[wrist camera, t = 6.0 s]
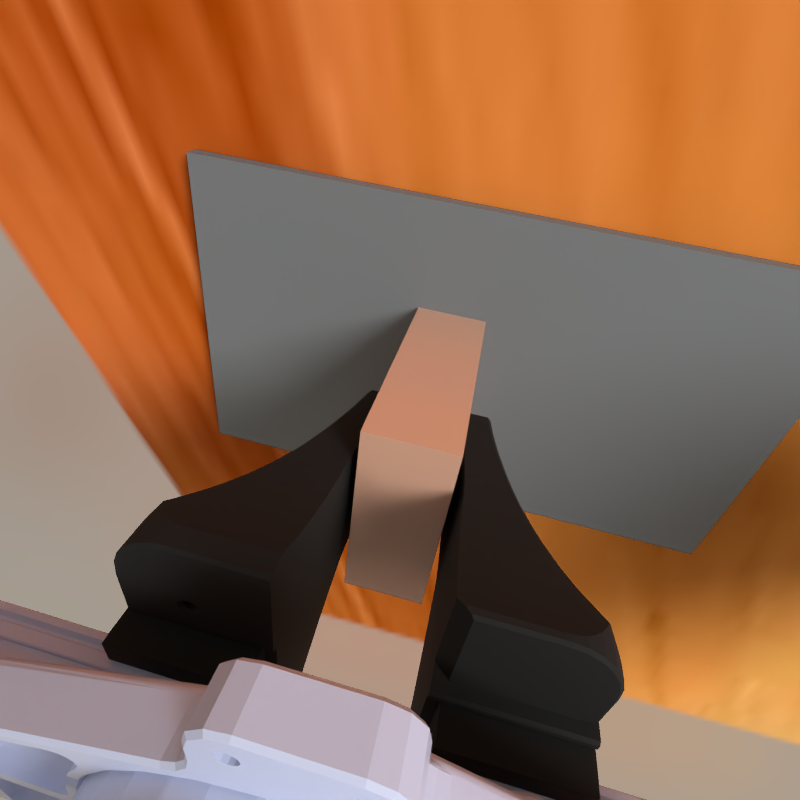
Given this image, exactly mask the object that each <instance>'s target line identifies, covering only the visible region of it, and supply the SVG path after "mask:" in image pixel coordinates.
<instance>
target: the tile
mask: <svg viewBox="0 0 800 800" xmlns="http://www.w3.org/2000/svg"><path fill="white" fill-rule="evenodd" d="M485 325H486V322H484V321H480V320H475V319H470V318H466V317H461V316H457V315H452V314H447V313H443V312H438V311H434V310H429V309H424V308H420V307H418V310H417V312H416V314H415V316H414V318H413V320H412V322H411V324H410V327H409V329H408V331H407V333H406V335H405V337H404V339H403V341H402V344H401V346H400V348H399V350H398V352H397V354H396V356H395V359H394V361H393V363H392V365H391V367H390V369H389V371H388V373H387V376H386V378H385V380H384V382H383V384H382V386H381V388H380V391H379V393H378V395H377V397H376V399H375V401H374V403H373V405H372V408H371V410H370V412H369V414H368V416H367V418H366V420H365V423H364V425H363V427H362V429H361V431H360V441H359V450H358V460H357V469H356V479H355V488H354V497H353V507H352V516H351V526H350V535H349V544H348V554H347V563H346V573H345V583H349V584H352V585H356V586H359V587H363V588H366V589H370V590H373V591H377V592H381V593H384V594H388V595H391V596H395V597H398V598H402V599H405V600H409V601H412V602H416V603H420V604H422V601H423V597H424V593H425V590H426V586H427V583H428V579H429V576H430V572H431V569H432V565H433V562H434V558H435V554H436V551H437V547H438V544H439V540H440V537H441V533H442V530H443V526H444V522H445V519H446V515H447V512H448V508H449V505H450V501H451V498H452V494H453V491H454V487H455V483H456V480H457V476H458V473H459V469H460V466H461V462H462V459H463V454H464V448H465V442H466V437H467V431H468V425H469V419H470V413H471V407H472V401H473V395H474V389H475V383H476V378H477V372H478V366H479V360H480V354H481V348H482V342H483V336H484V330H485Z"/></svg>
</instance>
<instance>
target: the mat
mask: <svg viewBox="0 0 800 800" xmlns="http://www.w3.org/2000/svg"><path fill="white" fill-rule="evenodd" d="M187 161H188V169H189V178H190V186H191V195H192V203H193V212H194V220H195V229H196V237H197V246H198V254H199V263H200V271H201V279H202V288H203V296H204V305H205V313H206V322H207V330H208V339H209V347H210V356H211V364H212V373H213V381H214V390H215V398H216V407H217V415H218V423H219V432H220V433H222V434H226V435H229V436H233V437H237V438H241V439H245V440H249V441H253V442H257V443H261V444H264V445H268V446H272V447H276V448H280V449H284V450H288V451H293V450H295V449H297V448H298V447H300V446H301V445H303V444H305V443H306V442H308V441H309V440H310V439H312V438H313V437H315V436H316V435H318V434H319V433H320V432H322V431H323V430H325V429H326V428H327V427H329V426H330V425H331V424H332V423H334V422H335V421H336V420H337V419H339V418H340V417H341V416H342V415H344V414H345V413H346V412H347V411H348V410H350V409H351V408H352V407H353V406H354V405H355V404H356V403H357V402H359V401H360V400H361V399H362V398H363V397H364V396H365V395H366V394H367V393H368V392H370V391H372V390H374V391H380V388H381V386H382V384H383V382H384V380H385V378H386V376H387V373H388V371H389V369H390V367H391V365H392V363H393V361H394V359H395V356H396V354H397V352H398V350H399V348H400V346H401V344H402V341H403V339H404V337H405V335H406V333H407V331H408V329H409V327H410V324H411V322H412V320H413V318H414V316H415V314H416V312H417V310H418V307H420V308H424V309H429V310H434V311H438V312H443V313H447V314H452V315H457V316H461V317H466V318H470V319H475V320H480V321H484V322H486V325H485V330H484V336H483V342H482V348H481V354H480V360H479V366H478V372H477V378H476V383H475V389H474V395H473V401H472V407H471V414H475V415H480V416H484V417H488V418H489V420H490V421H491V426H492V431H493V435H494V439H495V443H496V446H497V450H498V453H499V456H500V459H501V461H502V464H503V467H504V469H505V472H506V475H507V477H508V480H509V482H510V484H511V487H512V489H513V491H514V493H515V495H516V498H517V500H518V502H519V504H520V506H521V508H522V509H523V511H525V512H529V513H533V514H537V515H541V516H545V517H549V518H552V519H556V520H560V521H564V522H568V523H572V524H576V525H580V526H584V527H587V528H591V529H595V530H599V531H603V532H607V533H611V534H615V535H619V536H622V537H626V538H630V539H634V540H638V541H642V542H646V543H650V544H654V545H658V546H661V547H665V548H669V549H673V550H677V551H681V552H685V553H689V554H691V553H692V552H693V551H694V550H695V548H696V547H697V546H698V545H699V543H700V542H701V541H702V540H703V538H704V537H705V536H706V535H707V533H708V532H709V531H710V530H711V528H712V527H713V526H714V524H715V523H716V522H717V521H718V519H719V518H720V517H721V516H722V514H723V513H724V512H725V511H726V509H727V508H728V507H729V506H730V504H731V503H732V502H733V501H734V499H735V498H736V497H737V495H738V494H739V493H740V492H741V490H742V489H743V488H744V487H745V485H746V484H747V483H748V482H749V480H750V479H751V478H752V477H753V475H754V474H755V473H756V472H757V470H758V469H759V468H760V466H761V465H762V464H763V463H764V461H765V460H766V459H767V458H768V456H769V455H770V454H771V453H772V451H773V450H774V449H775V448H776V446H777V445H778V444H779V443H780V441H781V440H782V439H783V437H784V436H785V435H786V434H787V432H788V431H789V430H790V429H791V427H792V426H793V425H794V424H795V422H796V421H797V420H798V419H799V417H800V266H798V265H793V264H788V263H782V262H777V261H772V260H767V259H762V258H757V257H751V256H746V255H741V254H736V253H731V252H725V251H720V250H715V249H710V248H705V247H699V246H694V245H689V244H684V243H679V242H674V241H668V240H663V239H658V238H653V237H648V236H642V235H637V234H632V233H627V232H622V231H617V230H611V229H606V228H601V227H596V226H591V225H585V224H580V223H575V222H570V221H565V220H559V219H554V218H549V217H544V216H539V215H534V214H528V213H523V212H518V211H513V210H508V209H502V208H497V207H492V206H487V205H482V204H477V203H471V202H466V201H461V200H456V199H451V198H445V197H440V196H435V195H430V194H425V193H419V192H414V191H409V190H404V189H399V188H394V187H388V186H383V185H378V184H373V183H368V182H362V181H357V180H352V179H347V178H342V177H337V176H331V175H326V174H321V173H316V172H311V171H305V170H300V169H295V168H290V167H285V166H280V165H274V164H269V163H264V162H259V161H254V160H248V159H243V158H238V157H233V156H228V155H222V154H217V153H212V152H207V151H202V150H193V151H188V152H187Z"/></svg>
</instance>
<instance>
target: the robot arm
mask: <svg viewBox="0 0 800 800" xmlns="http://www.w3.org/2000/svg"><path fill="white" fill-rule="evenodd" d="M378 393H379V391H374V390H372V391H370V392H368V393H367V394H366V395H365V396H364V397H363V398H362V399H361V400H360V401H359V402H357V403H356V404H355V405H354V406H353V407H352V408H351V409H350V410H348V411H347V412H346V413H345V414H344V415H342V416H341V417H340V418H339V419H337V420H336V421H335V422H334V423H332V424H331V425H330V426H329V427H327V428H326V429H325V430H323V431H322V432H320V433H319V434H318V435H316V436H315V437H313V438H312V439H310V440H309V441H308V442H306V443H305V444H303V445H301V446H300V447H298V448H297V449H295V450H293V451H292V452H290V453H288V454H286V455H285V456H283V457H281V458H279V459H278V460H276V461H274V462H272V463H270V464H268V465H266V466H264V467H261V468H259V469H257V470H255V471H253V472H251V473H249V474H246V475H244V476H241V477H239V478H236V479H234V480H231V481H228V482H226V483H223V484H220V485H217V486H214V487H211V488H208V489H205V490H202V491H198V492H195V493H191V494H188V495H184V496H181V497H178V498H174V499H170V500H166V501H163V502H162V503H161V504H160V505H159V506H158V507H157V508H156V509H155V510H154V511H153V512H152V513H151V514H150V515H149V516H148V517H147V518H146V519H145V520H144V521H143V522H142V523H141V524H140V526H139V527H138V528H137V529H136V530H135V532H134V533H133V534H132V535H131V536H130V537H129V538H128V540H127V541H126V542H125V543H124V544H123V545H122V547H121V548H120V549H119V550H118V552H117V553H116V556H115V559H114V564H115V570H116V575H117V577H118V580H119V583H120V586H121V589H122V591H123V594H124V596H125V599H126V602H127V605H128V609H127V610H126V611H125V612H124V614H123V615H122V616H121V618H120V619H119V620H118V622H117V623H116V624H115V626H114V627H113V628H112V630H111V631H110V632H109V634H108V633H105V632H102V631H98V630H95V629H92V628H88V627H85V626H82V625H79V624H76V623H72V622H69V621H66V620H63V619H59V618H56V617H53V616H50V615H47V614H43V613H40V612H37V611H33V610H30V609H27V608H24V607H21V606H17V605H14V604H11V603H8V602H4V601H1V600H0V797H3V798H5V799H7V800H646V799H642V798H639V797H636V796H633V795H629V794H626V793H623V792H619V791H616V790H613V789H610V788H607V787H603V786H600V785H599V780H598V771H597V761H596V752H595V749H598V748H599V747H600V743H601V738H600V729H599V721H600V720H601V719H602V718H603V716H604V715H605V714H606V713H607V712H608V711H609V710H610V709H611V708H612V707H613V706H614V704H615V703H616V702H617V701H618V700H619V699H620V697H621V695H622V693H623V691H624V677H623V670H622V664H621V659H620V656H619V652H618V649H617V645H616V642H615V638H614V635H613V631H612V628H611V625H610V623H609V622H608V621H607V620H606V619H605V618H604V617H603V616H602V615H601V614H600V613H599V611H598V610H597V609H596V608H595V607H594V606H593V605H592V604H591V603H590V602H589V601H588V600H587V599H586V598H585V597H584V596H583V595H582V593H581V592H580V591H579V590H578V589H577V588H576V587H575V585H574V584H573V583H572V582H571V581H570V579H569V578H568V577H567V576H566V574H565V573H564V572H563V571H562V570H561V568H560V567H559V566H558V564H557V563H556V561H555V560H554V559H553V557H552V556H551V554H550V553H549V552H548V550H547V549H546V548H545V546H544V545H543V543H542V542H541V540H540V539H539V537H538V535H537V534H536V532H535V531H534V529H533V527H532V526H531V524H530V522H529V520H528V519H527V517H526V515H525V513H524V511H523V509H522V508H521V506H520V504H519V502H518V500H517V498H516V495H515V493H514V491H513V489H512V487H511V484H510V482H509V480H508V477H507V475H506V472H505V469H504V467H503V464H502V461H501V459H500V456H499V453H498V450H497V446H496V443H495V439H494V435H493V431H492V426H491V421H490V420H489V418H488V417H484V416H480V415H475V414H471V413H470V419H469V425H468V431H467V437H466V442H465V448H464V454H463V459H462V462H461V466H460V469H459V473H458V476H457V480H456V483H455V487H454V491H453V494H452V498H451V501H450V505H449V508H448V512H447V515H446V519H445V522H444V526H443V530H442V533H441V542H440V553H439V563H438V572H437V579H436V585H435V591H434V596H433V601H432V606H431V611H430V616H429V621H428V626H427V631H426V636H425V641H424V647H423V652H422V657H421V662H420V666H419V671H418V676H417V681H416V686H415V691H414V696H413V701H412V705H411V709H410V708H408V707H405V706H403V705H401V704H399V703H396V702H394V701H392V700H390V699H387V698H385V697H382V696H378V695H375V694H371V693H368V692H365V691H362V690H359V689H355V688H352V687H349V686H345V685H342V684H339V683H336V682H332V681H329V680H326V679H322V678H319V677H316V676H313V675H309V674H306V673H303V672H302V671H303V668H304V664H305V661H306V658H307V655H308V652H309V649H310V646H311V643H312V640H313V637H314V633H315V630H316V627H317V624H318V621H319V618H320V615H321V612H322V609H323V606H324V603H325V600H326V597H327V594H328V592H329V589H330V586H331V583H332V580H333V577H334V574H335V571H336V568H337V565H338V563H339V560H340V557H341V554H342V552H343V550H344V547H345V545H346V542H347V540H348V538H349V535H350V526H351V516H352V507H353V497H354V488H355V479H356V469H357V460H358V450H359V441H360V431H361V429H362V427H363V425H364V423H365V420H366V418H367V416H368V414H369V412H370V410H371V408H372V405H373V403H374V401H375V399H376V397H377V395H378Z"/></svg>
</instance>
